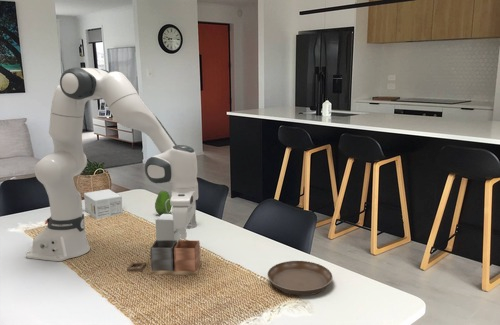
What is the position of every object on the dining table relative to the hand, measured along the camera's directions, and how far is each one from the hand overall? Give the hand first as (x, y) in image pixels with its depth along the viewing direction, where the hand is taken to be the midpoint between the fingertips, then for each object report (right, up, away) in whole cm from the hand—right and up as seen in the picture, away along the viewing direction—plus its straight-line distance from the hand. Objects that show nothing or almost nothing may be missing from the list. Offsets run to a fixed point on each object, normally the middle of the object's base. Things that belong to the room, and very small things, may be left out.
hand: (186, 233), depth 150 cm
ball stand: (-18, -13, +3) cm, 22 cm away
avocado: (-20, -1, +63) cm, 66 cm away
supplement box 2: (-10, -9, +22) cm, 26 cm away
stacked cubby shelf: (-4, -13, +3) cm, 14 cm away
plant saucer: (+38, -15, -8) cm, 41 cm away
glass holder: (-9, -5, +45) cm, 46 cm away
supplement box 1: (-51, -1, +67) cm, 84 cm away
